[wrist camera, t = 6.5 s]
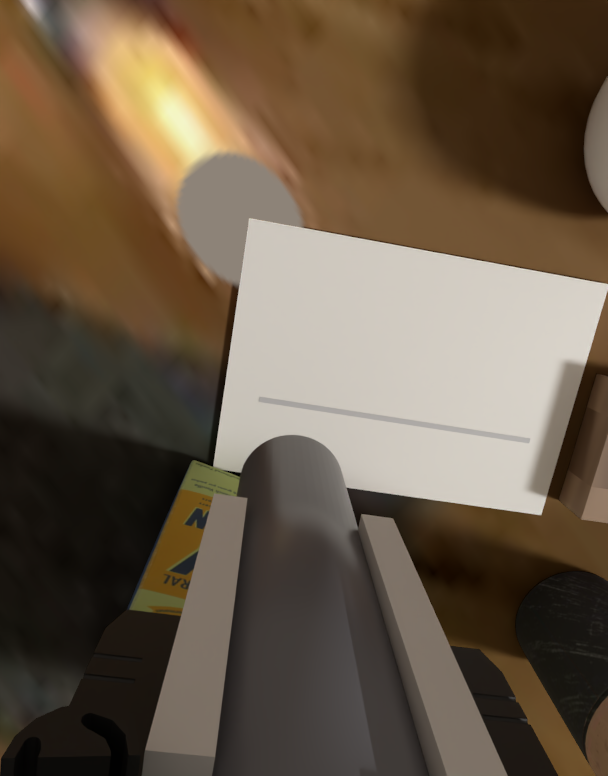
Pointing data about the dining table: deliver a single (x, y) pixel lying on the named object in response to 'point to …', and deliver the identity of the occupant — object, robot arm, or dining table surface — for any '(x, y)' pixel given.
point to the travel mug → (572, 654)
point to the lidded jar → (598, 146)
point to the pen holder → (590, 460)
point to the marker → (308, 633)
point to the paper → (406, 365)
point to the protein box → (180, 541)
